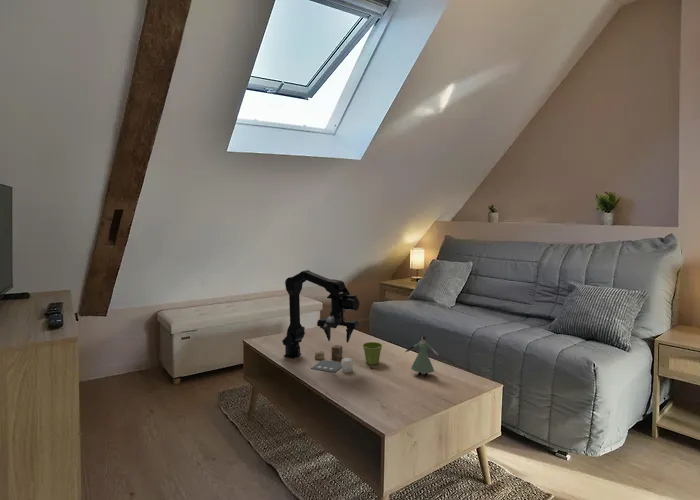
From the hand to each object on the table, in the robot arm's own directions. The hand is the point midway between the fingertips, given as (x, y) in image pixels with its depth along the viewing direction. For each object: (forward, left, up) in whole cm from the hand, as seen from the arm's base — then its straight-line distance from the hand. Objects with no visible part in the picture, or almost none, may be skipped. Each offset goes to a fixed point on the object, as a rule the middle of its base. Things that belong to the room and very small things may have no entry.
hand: (338, 341), depth 213 cm
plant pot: (+13, +11, -12) cm, 21 cm away
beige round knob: (-13, +7, -12) cm, 19 cm away
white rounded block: (+6, -3, -12) cm, 14 cm away
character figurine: (+38, +5, -12) cm, 40 cm away
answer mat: (-4, -2, -12) cm, 13 cm away
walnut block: (-5, +10, -12) cm, 16 cm away
